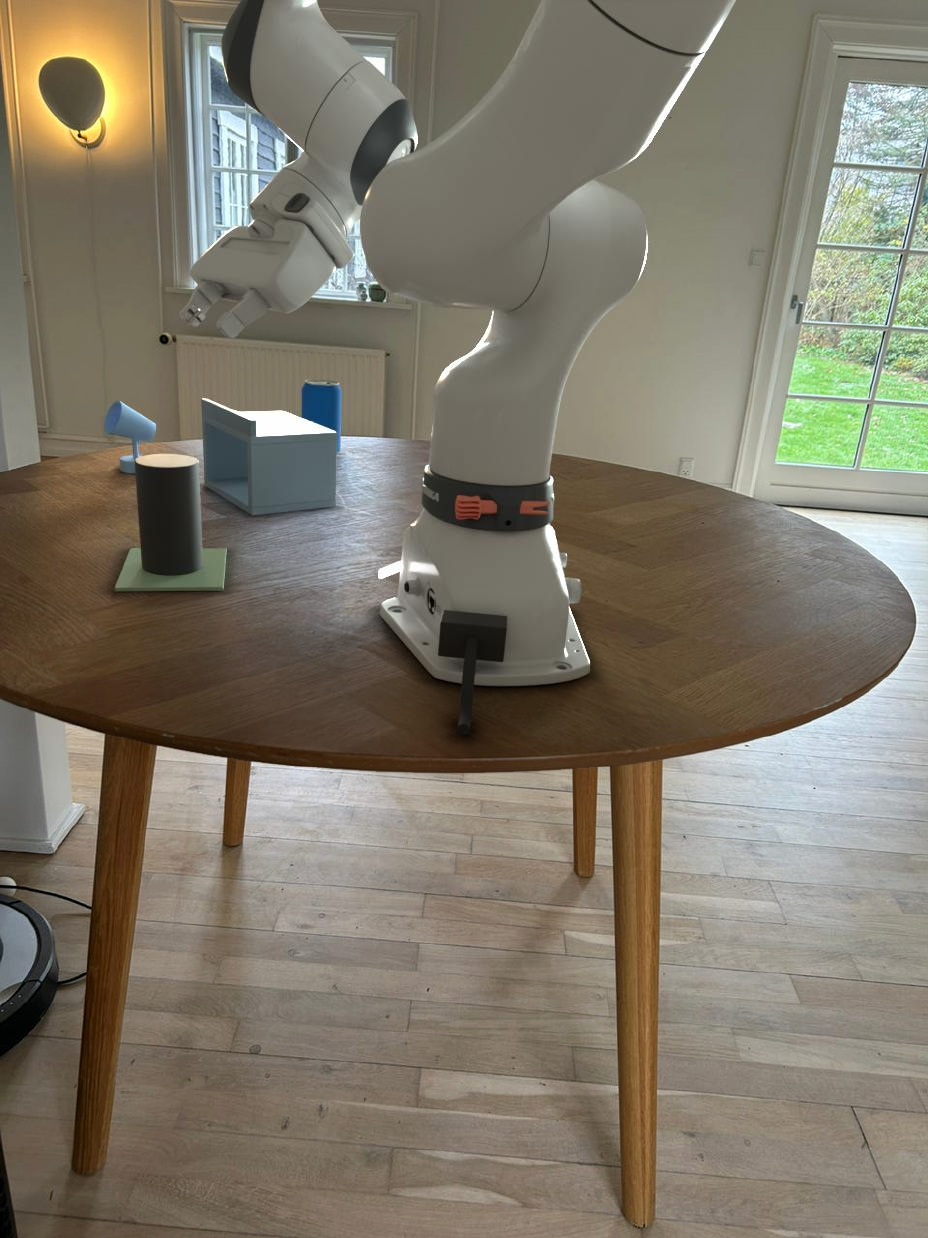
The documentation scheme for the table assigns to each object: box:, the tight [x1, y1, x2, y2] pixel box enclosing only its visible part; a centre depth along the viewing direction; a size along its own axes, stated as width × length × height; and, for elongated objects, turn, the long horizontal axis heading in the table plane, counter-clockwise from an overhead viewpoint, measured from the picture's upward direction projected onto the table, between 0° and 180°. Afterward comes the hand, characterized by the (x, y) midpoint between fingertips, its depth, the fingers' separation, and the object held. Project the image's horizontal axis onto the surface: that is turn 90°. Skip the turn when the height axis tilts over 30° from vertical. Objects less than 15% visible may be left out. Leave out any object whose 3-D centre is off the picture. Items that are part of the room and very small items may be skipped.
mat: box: [114, 547, 227, 592], centre depth 88 cm, size 12×10×1 cm
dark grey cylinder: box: [134, 453, 204, 576], centre depth 86 cm, size 6×6×11 cm
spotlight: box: [103, 400, 157, 474], centre depth 122 cm, size 5×10×7 cm
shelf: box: [200, 397, 338, 517], centre depth 115 cm, size 16×12×12 cm
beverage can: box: [300, 378, 343, 454], centre depth 141 cm, size 6×6×12 cm
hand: (203, 326), depth 84 cm, fingers open, 8 cm apart
